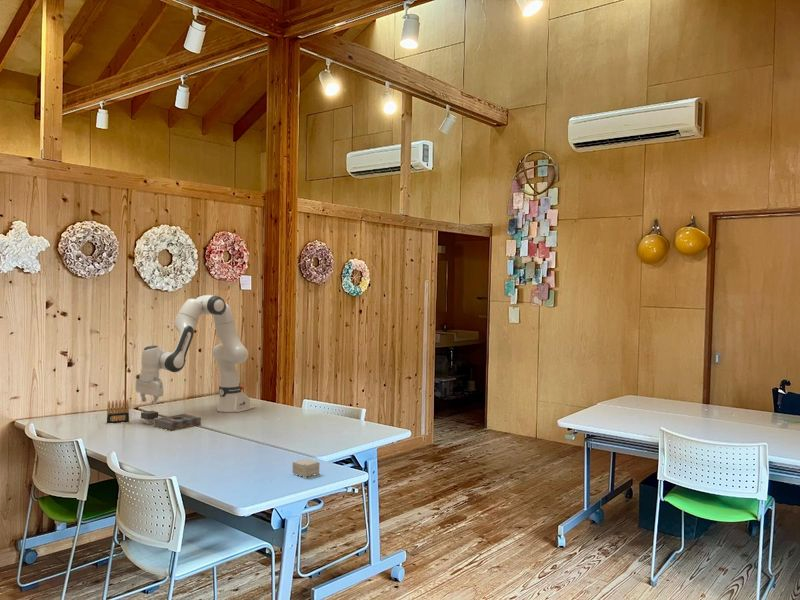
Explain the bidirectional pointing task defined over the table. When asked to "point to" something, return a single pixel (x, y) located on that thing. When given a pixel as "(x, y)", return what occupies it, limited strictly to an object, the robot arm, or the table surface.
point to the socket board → (177, 422)
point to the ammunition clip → (118, 412)
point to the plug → (149, 416)
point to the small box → (305, 467)
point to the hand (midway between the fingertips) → (149, 402)
